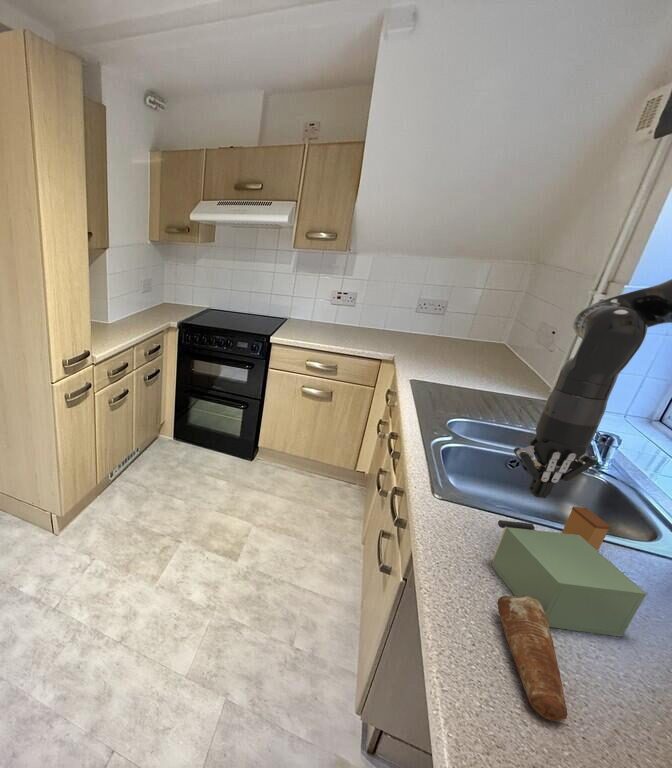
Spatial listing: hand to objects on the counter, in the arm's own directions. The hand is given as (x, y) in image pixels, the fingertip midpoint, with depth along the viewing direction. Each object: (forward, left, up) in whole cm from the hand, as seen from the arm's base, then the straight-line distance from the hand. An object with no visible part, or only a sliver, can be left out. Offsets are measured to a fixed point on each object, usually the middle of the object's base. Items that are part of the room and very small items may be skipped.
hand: (537, 495), depth 81 cm
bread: (+12, +26, -15) cm, 32 cm away
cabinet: (0, +11, -15) cm, 18 cm away
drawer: (0, +6, -14) cm, 15 cm away
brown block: (-16, -5, -15) cm, 22 cm away
